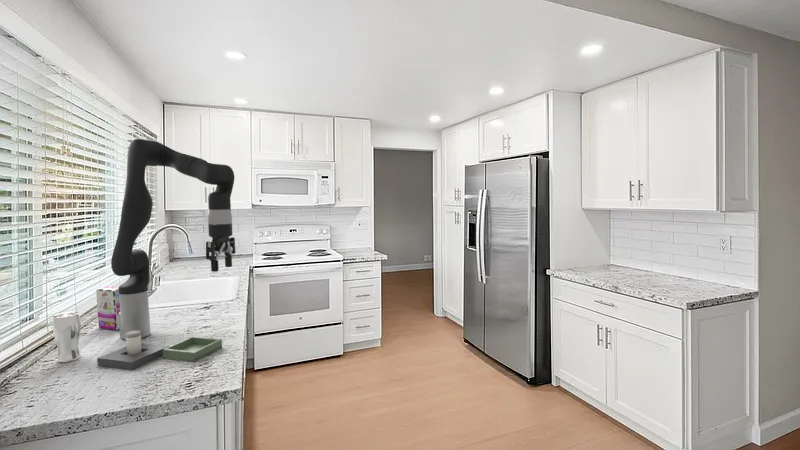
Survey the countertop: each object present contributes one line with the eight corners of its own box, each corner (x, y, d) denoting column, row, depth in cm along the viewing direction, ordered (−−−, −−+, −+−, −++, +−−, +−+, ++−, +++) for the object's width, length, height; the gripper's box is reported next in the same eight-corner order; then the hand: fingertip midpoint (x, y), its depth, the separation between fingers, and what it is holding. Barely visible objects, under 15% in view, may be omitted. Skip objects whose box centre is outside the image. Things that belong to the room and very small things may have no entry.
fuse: (124, 361, 132) (122, 333, 131) (135, 356, 135) (134, 329, 135) (134, 362, 131) (132, 334, 130) (145, 357, 134) (143, 330, 134)
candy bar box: (128, 327, 167) (125, 288, 166) (116, 331, 162) (113, 290, 161) (110, 324, 171) (108, 286, 170) (98, 328, 166) (95, 288, 165)
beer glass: (52, 364, 130) (49, 318, 128) (59, 357, 136) (55, 313, 135) (80, 360, 133) (76, 315, 132) (84, 353, 139) (81, 310, 138)
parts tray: (163, 358, 133) (162, 349, 133) (192, 344, 145) (192, 336, 145) (194, 361, 130) (194, 352, 130) (222, 347, 142) (221, 339, 142)
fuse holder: (97, 365, 128) (97, 358, 128) (137, 349, 142) (136, 342, 141) (132, 370, 124) (131, 362, 124) (169, 353, 138) (169, 345, 138)
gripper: (221, 221, 147) (223, 265, 148) (197, 224, 133) (199, 272, 134) (241, 221, 146) (242, 265, 148) (218, 224, 132) (220, 273, 133)
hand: (222, 269), depth 141 cm, fingers open, 8 cm apart
